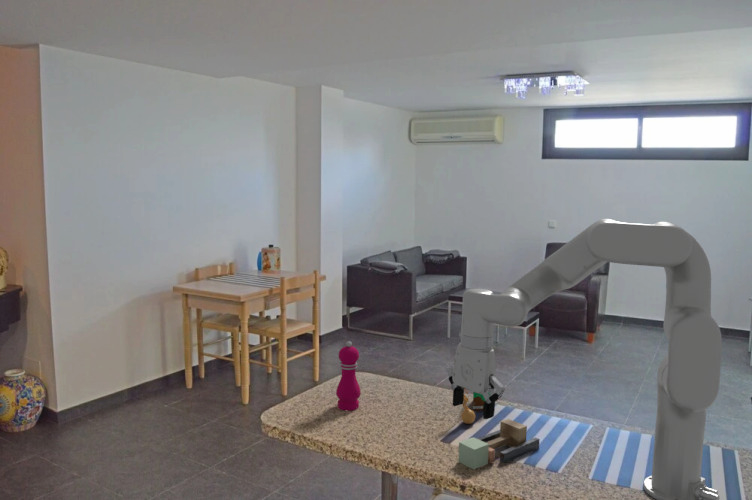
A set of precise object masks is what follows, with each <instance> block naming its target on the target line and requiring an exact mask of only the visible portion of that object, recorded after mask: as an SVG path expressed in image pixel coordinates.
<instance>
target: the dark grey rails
mask: <svg viewBox="0 0 752 500" xmlns="http://www.w3.org/2000/svg"><path fill="white" fill-rule="evenodd" d="M499 437H500V429H499V430H495V431H494V432H493V431H492V432H490V433H488V434H485V435H482V436H480V437H477V438H476V439H479V440H481V441H483V442H485V443H486V442H488V441H491V440H493V439H496V438H499ZM539 449H540V438H538V437H533V438H531V439H528V440H526V442H523V443H521V444H519V445H516V446H514V447H509V448H506V449H504V450H502V451H500V452H499V463H501V464H507V463H509V462H511V461H513V460H516V459H517V458H520V457H522V456H525V455H528V454H530V453H532V452H534V451H536V450H539Z"/></svg>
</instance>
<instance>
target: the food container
mask: <svg viewBox="0 0 752 500" xmlns="http://www.w3.org/2000/svg"><path fill="white" fill-rule="evenodd" d="M472 393H473V395H472V402H473V403H472V411H473V412H483V409H484V402H486V400H485V398H484V396H483V394H478V393H475V392H473V391H472ZM488 394H489V392H488ZM489 396H490V394H489Z"/></svg>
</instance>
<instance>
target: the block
mask: <svg viewBox="0 0 752 500" xmlns="http://www.w3.org/2000/svg"><path fill="white" fill-rule="evenodd" d="M488 452H489V444H487V443H485V442H483V441H481V440H479V439H477V438H476V437H470V438H468V439H465V440H462V441H459V442H458V460H457V461H458V462H459V463H460V464H462V465H464V466H466V467H469V468H470V469H472V470H476V468H477V469H478V468H481V467H483V466H487V465H488V464H489V462H488Z"/></svg>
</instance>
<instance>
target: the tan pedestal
mask: <svg viewBox="0 0 752 500" xmlns="http://www.w3.org/2000/svg"><path fill="white" fill-rule="evenodd" d="M527 427H528V425H526V424H523V423H520V422H517V421H514V420H513V419H510V418H507V419H504V420H500V426H499V430H500V437H499V438H496V439H493V440H491V441H488V442H486V443H487V444H489V452H488V464H493V463H494V462H495V458H496V449H499V448H501V447H504V446H507V447H509V448H511V447H514V446H516V445H519V444H521V443H523V442H526V441H527V433H528V431H527V430H528V428H527Z"/></svg>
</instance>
